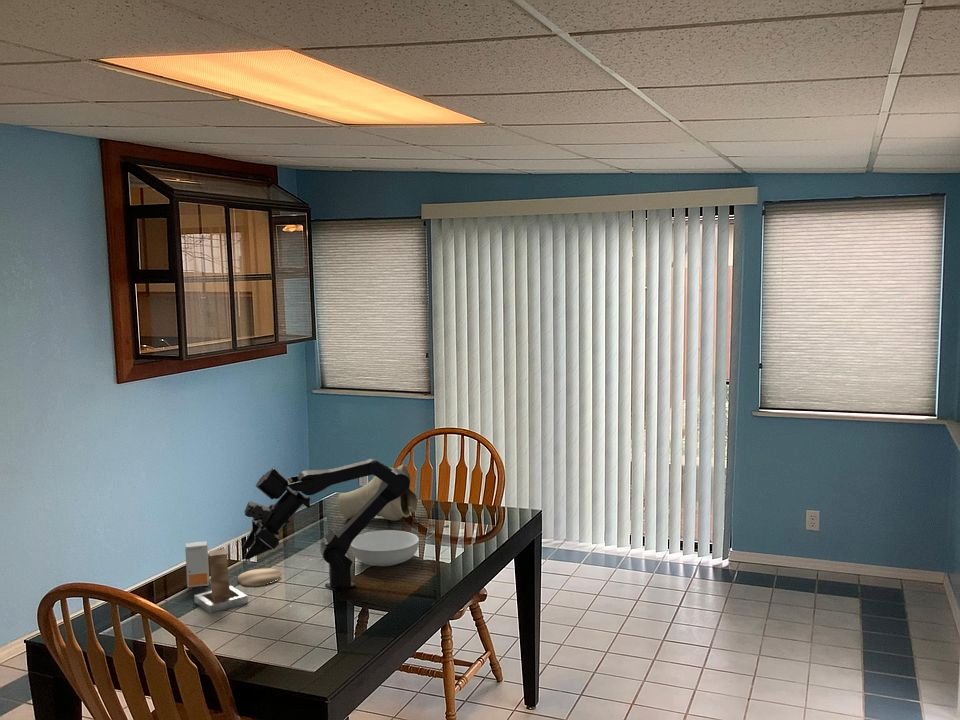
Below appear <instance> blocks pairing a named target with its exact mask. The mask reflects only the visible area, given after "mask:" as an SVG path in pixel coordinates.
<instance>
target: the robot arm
mask: <svg viewBox="0 0 960 720" xmlns="http://www.w3.org/2000/svg"><path fill="white" fill-rule="evenodd" d="M390 468H391V467H389V466H387V465H385V464H383V463H382V462H379V461H378V459H376V458H373V457H372V458H371V457H370V458H369V459H366V460H361V461H359V462H354V463H350V464H347V465H342V466H339V467H338V466H337V467H334V468H330V469H308V470H307V469H305V470H303V471H301V472H300V473H299V474H297V475H295V476H291V477H284V475H282V474H281V473H279V472H278V470H277V469H276V468H275V467H272V468H271V469H270V470H269V471H267V472H265V474H262V476H261V477H260V478H259V479H258V481H257V483H255V484H256V485H255V487H256V488H257V489H258V490H259V491H260V492H262V493H263V494H265V496H266V497H268V499H270V500H274V499H275V500H277V501H276V502H275V504H274V503H272V504H269V506H268V507H267V506H264V505H263V504H259V503H256V502H253V501H251V500H250V501H248V502H247V505H246V506H245V509H244V511H243V513H244V516H245V517H248V518H252V520H251V530H250V532H249V535H248V536H247V538H246V540H245V541H244V543H243V545H242V549H243V550H245V551H246V550H247V549H248V550H247V551H246V553H245V555H244V556H243V558H244V559H245V560H247V561H248V560H251V559H253V558H254V557H256V556H259V555H261V554H262V553H265V552H269V551H271V550H275V549H276V548H277V547H278V546H279V545H280V539H279V535H280V530H281V529H282V528H283V527H284V526H285V525H286V524H287V525H288V524H289V523H290V522H291V520H290V519H291V518H292V517H293V516H294V515H295V514H296V513H297V511H298V510H299V509H300V508H301V507H302V506H305V508H307V509H311V504H310V502H311V497H310V496H313V495H316V494H318V493H320V492H322V491H324V490H325V489H327V488H329V487H331V486H334V485H336V484H337V485H338V484H340V483H344V482H349V481H351V480H356V479H361V478H364V477H368V476H376V477H378V478H379V479H381V480H382V482H381V484H380V487H379V489H378V491H377V492H376V494H375V495H374V496H373V497H372V498H371V499H370V500H369V501H368V502H367V503H366V504H365V505H364V506H363V507H362V508H361V509H360V510H359V511H358V512H357V514H356V515H355V516H354V517H352V518H350V520H349V521H348V522H347V523H346V524H345V525H344V526H343V527H342V528H340V529H339V530H337V531H335V530H334V529H333V528H331V529H330V531H329V532H328V533H327V535H326V536H324V537H322V538H321V540H322V541H321V543H320V545H319V551H320V554H321V556H322V558H323V560H324V561H325V562H326V563H327V564H328V569H329V570H328V572H329V582H328V583H327V582H326V583H325V584H324V585H325V587H327V588H328V589H330V590H332V591H335V592H341V591H343V590H346V589H351V588H354V587H356V586H357V585H356V583H354V582H353V581H352V576H351V574H352V573H351V567H352V565H353V560H352V559H351V557H350V556H349V554H348V551H349V549H350V545H351V543H352V541H353V540H354V538H355V537H356V536H358V535H360V533H361V532H362V531H363V530H364V529H365V528H366V527H367V526H368V525H369V524H370V523H371V522H372V521H373V519H375V518H376V516H377V514H378V513H379V512H380V511H381V510H382V509H383V508H384V507H385V506H386V505H387V504H388V503H389V502H391V501H393V500H395V499H397V498H399V497H400V496H401V495H402V494H404V493H405V492H406V491H407V490H408V489H409V487H410V488H411V484H410V481H409V478H408V477H407V476H406V475H405V474H404V473H403V472H402V471H400V470H392V469H390ZM304 495H305V496H304ZM355 585H356V586H355ZM353 586H354V587H353Z"/></svg>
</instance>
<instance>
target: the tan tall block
mask: <svg viewBox="0 0 960 720" xmlns="http://www.w3.org/2000/svg"><path fill="white" fill-rule="evenodd" d="M208 556H209V572H210V583H211V584H210V585H211V591H212V600H211V602H213V603H214V602H218V601H222V600H226V599H229V598H231V597H230V593H229V586H230V581H229V562H228V550H227V548H223V549H216V550H215V549H214V550H213V549H212V550H209V551H208Z"/></svg>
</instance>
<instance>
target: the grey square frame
mask: <svg viewBox="0 0 960 720" xmlns="http://www.w3.org/2000/svg"><path fill="white" fill-rule="evenodd" d="M229 593H230V598H229V599H226V600H222V601H218V602H214V603H213V602H212V590H208V591H205V592H201V593H197V594H194V596H193V598H194V603H195V604H196V605H198V606H200V607H201V608H203V610H205V611H207V612H208V613H209V614H214V613H216V612H220V611H224V610H226V609H231V608H234V607H238V606H241V605H245V604H248V603H249V600H248V598H249V597H248V595H247V594H245V593H244V592H242V591H240V590H239V589H237V588H236V587H234V586H233V585H229ZM247 602H248V603H247Z"/></svg>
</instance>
